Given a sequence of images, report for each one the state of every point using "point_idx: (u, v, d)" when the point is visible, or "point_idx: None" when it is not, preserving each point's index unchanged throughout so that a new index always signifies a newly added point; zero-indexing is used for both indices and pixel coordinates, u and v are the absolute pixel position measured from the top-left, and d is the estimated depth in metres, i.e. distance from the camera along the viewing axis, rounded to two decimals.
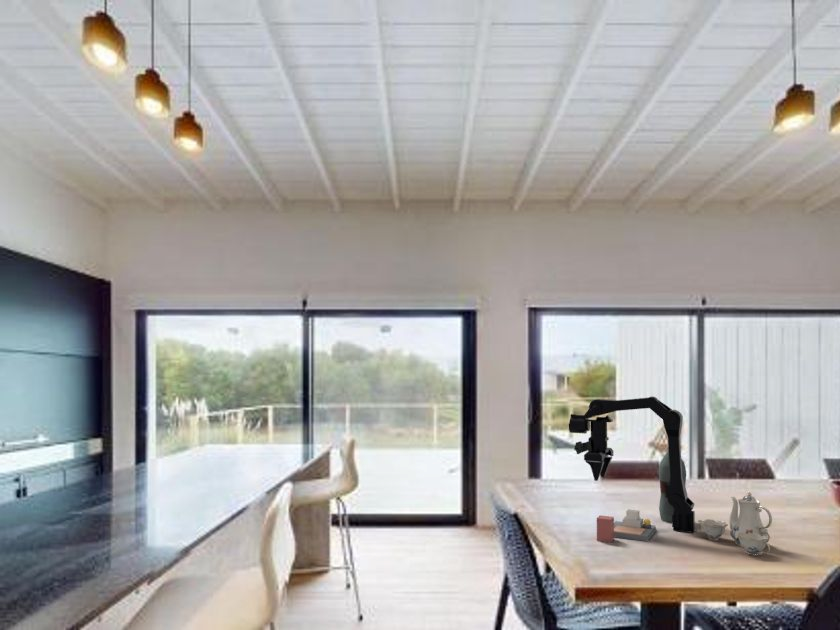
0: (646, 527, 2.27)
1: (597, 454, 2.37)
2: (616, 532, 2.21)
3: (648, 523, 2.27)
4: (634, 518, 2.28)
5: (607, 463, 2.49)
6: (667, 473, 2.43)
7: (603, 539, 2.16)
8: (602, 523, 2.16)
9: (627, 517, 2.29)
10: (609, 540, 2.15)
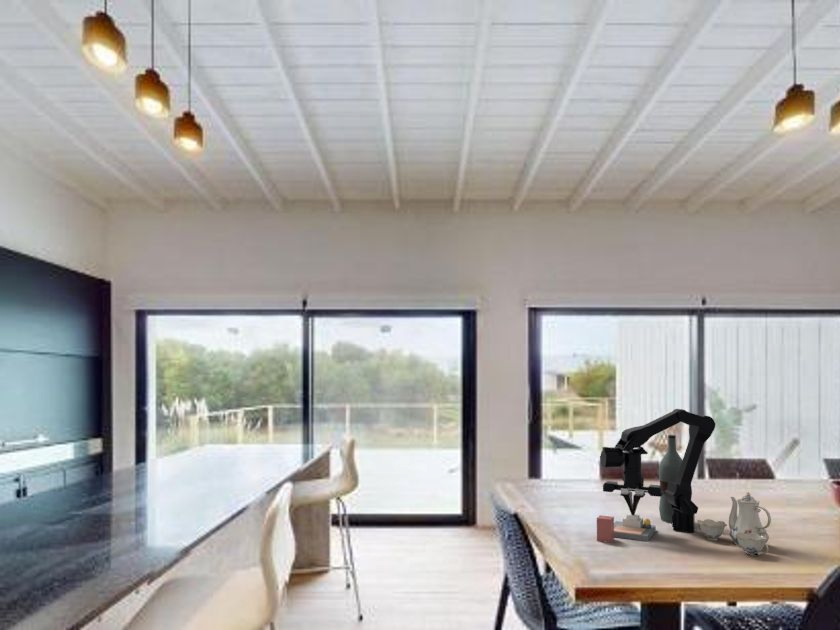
0: (646, 527, 2.27)
1: (604, 483, 2.33)
2: (616, 532, 2.21)
3: (648, 523, 2.27)
4: None
5: None
6: (667, 473, 2.43)
7: (603, 539, 2.16)
8: (602, 523, 2.16)
9: None
10: (609, 540, 2.15)
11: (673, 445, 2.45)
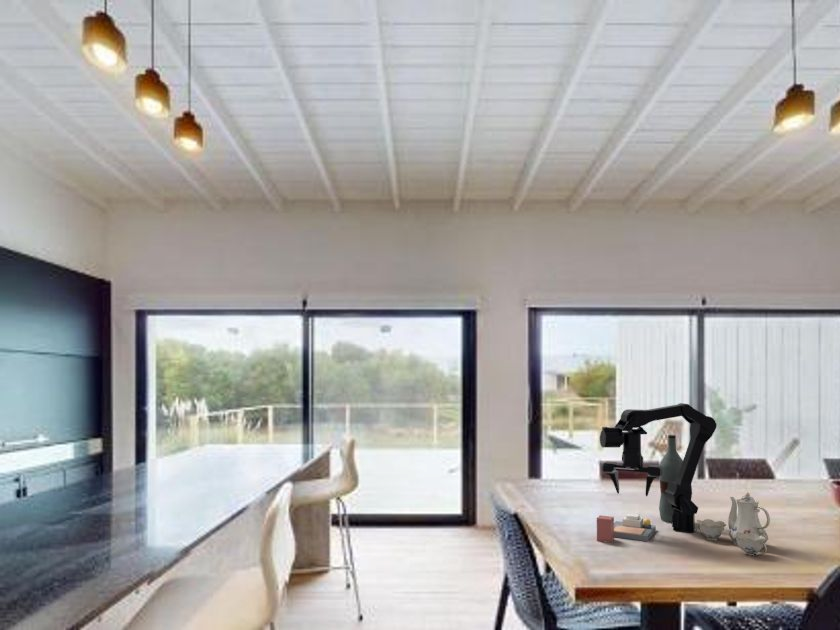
0: (646, 527, 2.27)
1: None
2: (616, 532, 2.21)
3: (648, 523, 2.27)
4: None
5: None
6: (667, 473, 2.43)
7: (603, 539, 2.16)
8: (602, 523, 2.16)
9: None
10: (609, 540, 2.15)
11: (673, 445, 2.45)
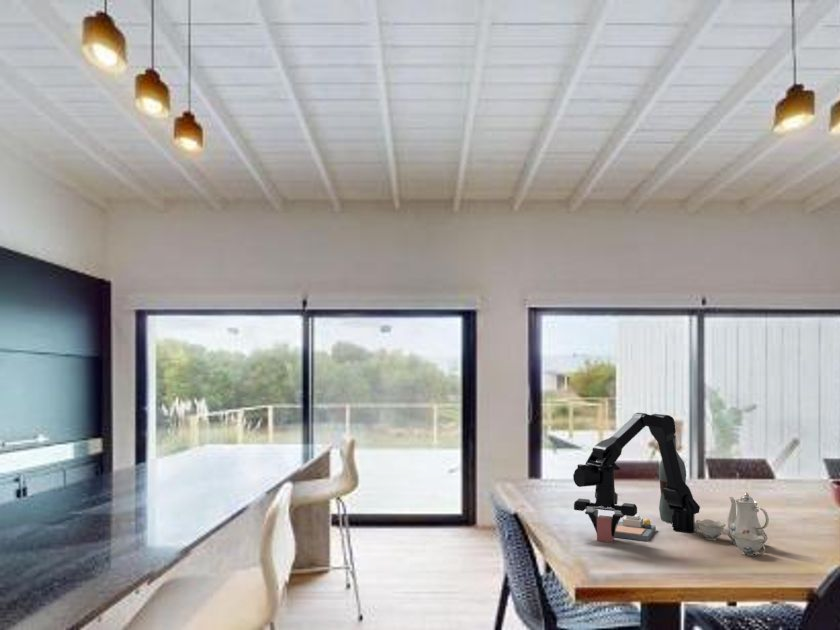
0: (646, 527, 2.27)
1: (575, 501, 2.21)
2: (616, 532, 2.21)
3: (648, 523, 2.27)
4: None
5: None
6: None
7: (603, 539, 2.16)
8: (602, 523, 2.16)
9: None
10: (609, 540, 2.15)
11: None
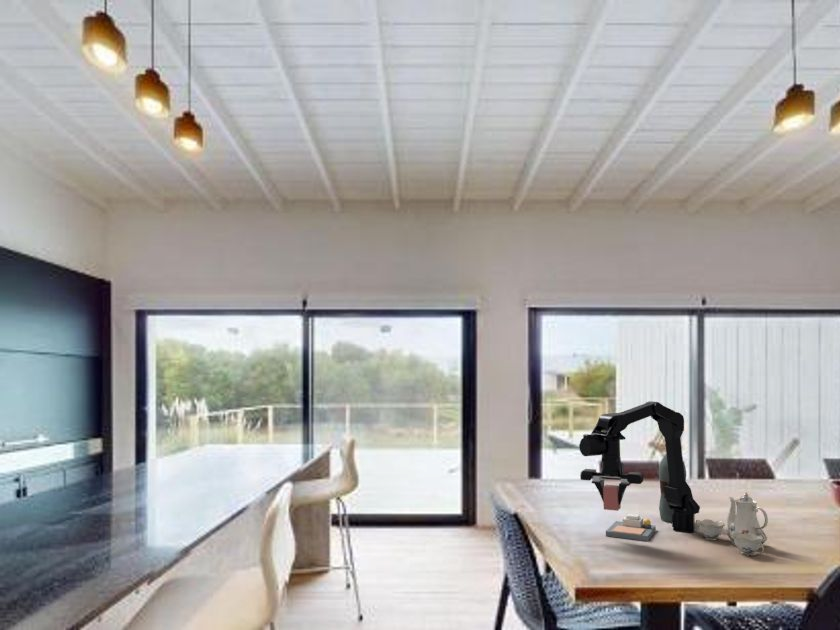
0: (646, 527, 2.27)
1: None
2: (616, 532, 2.21)
3: (648, 523, 2.27)
4: None
5: None
6: (667, 473, 2.43)
7: (610, 507, 2.18)
8: (608, 492, 2.18)
9: None
10: (616, 508, 2.17)
11: None
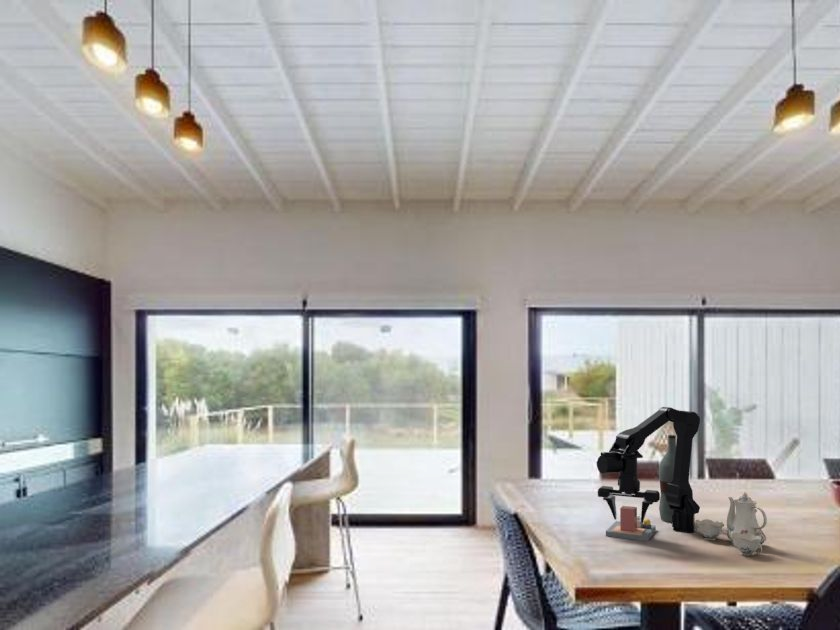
0: (646, 527, 2.27)
1: None
2: (616, 532, 2.21)
3: (648, 523, 2.27)
4: None
5: (642, 507, 2.20)
6: (667, 473, 2.43)
7: (627, 529, 2.21)
8: (625, 513, 2.22)
9: None
10: (632, 530, 2.20)
11: (673, 445, 2.45)
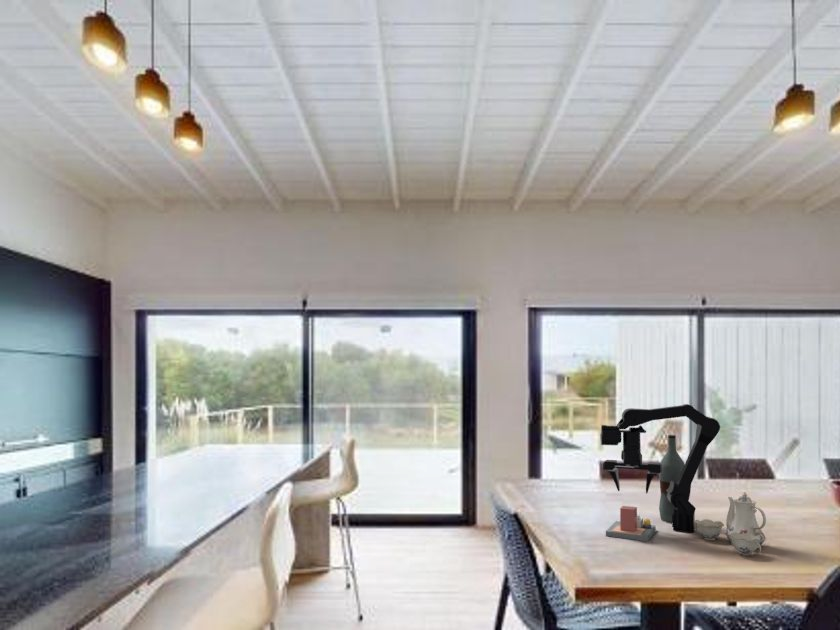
0: (646, 527, 2.27)
1: (604, 462, 2.38)
2: (616, 532, 2.21)
3: (648, 523, 2.27)
4: None
5: None
6: (667, 473, 2.43)
7: (627, 529, 2.21)
8: (625, 513, 2.22)
9: None
10: (632, 530, 2.20)
11: (673, 445, 2.45)
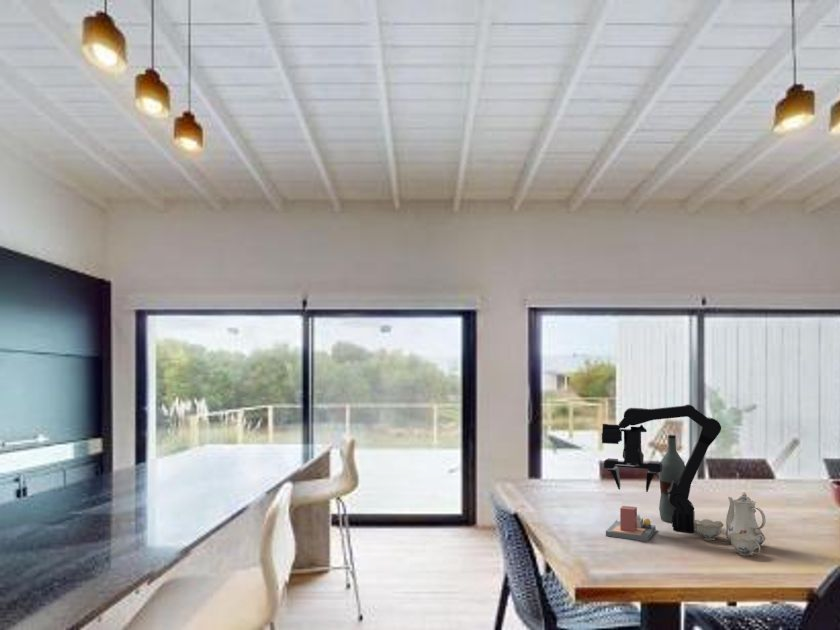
0: (646, 527, 2.27)
1: None
2: (616, 532, 2.21)
3: (648, 523, 2.27)
4: None
5: None
6: (667, 473, 2.43)
7: (627, 529, 2.21)
8: (625, 513, 2.22)
9: None
10: (632, 530, 2.20)
11: (673, 445, 2.45)
